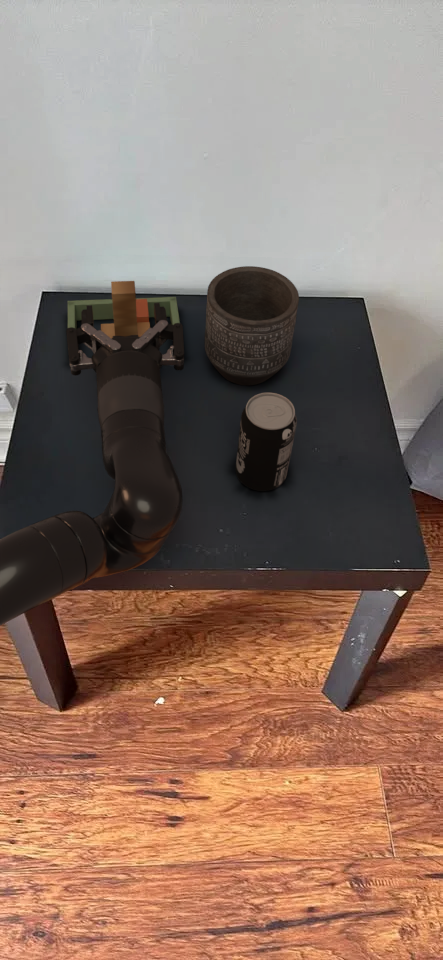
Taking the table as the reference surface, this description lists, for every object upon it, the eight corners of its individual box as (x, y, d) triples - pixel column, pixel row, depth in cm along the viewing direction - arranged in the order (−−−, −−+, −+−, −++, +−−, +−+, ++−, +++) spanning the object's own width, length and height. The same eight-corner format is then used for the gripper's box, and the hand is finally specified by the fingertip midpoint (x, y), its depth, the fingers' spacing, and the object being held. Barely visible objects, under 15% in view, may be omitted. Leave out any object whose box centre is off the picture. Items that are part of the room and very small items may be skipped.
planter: (303, 379, 107) (317, 308, 97) (229, 406, 103) (236, 335, 93) (260, 327, 113) (268, 256, 103) (188, 351, 109) (190, 279, 99)
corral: (70, 364, 106) (67, 348, 104) (69, 316, 113) (67, 300, 110) (182, 358, 108) (182, 343, 106) (175, 312, 115) (175, 296, 112)
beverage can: (228, 460, 97) (234, 395, 88) (275, 450, 99) (286, 385, 89) (244, 499, 93) (252, 436, 84) (293, 488, 95) (307, 424, 85)
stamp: (103, 378, 105) (95, 298, 94) (102, 339, 110) (94, 259, 99) (153, 375, 106) (151, 296, 95) (150, 337, 111) (147, 257, 100)
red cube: (122, 338, 110) (120, 317, 107) (121, 320, 113) (119, 299, 109) (149, 337, 111) (148, 316, 108) (147, 319, 113) (147, 298, 110)
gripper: (192, 374, 84) (178, 283, 94) (64, 380, 82) (63, 287, 92) (191, 419, 90) (178, 329, 100) (71, 426, 88) (70, 334, 98)
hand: (123, 309), depth 96 cm, fingers open, 8 cm apart
